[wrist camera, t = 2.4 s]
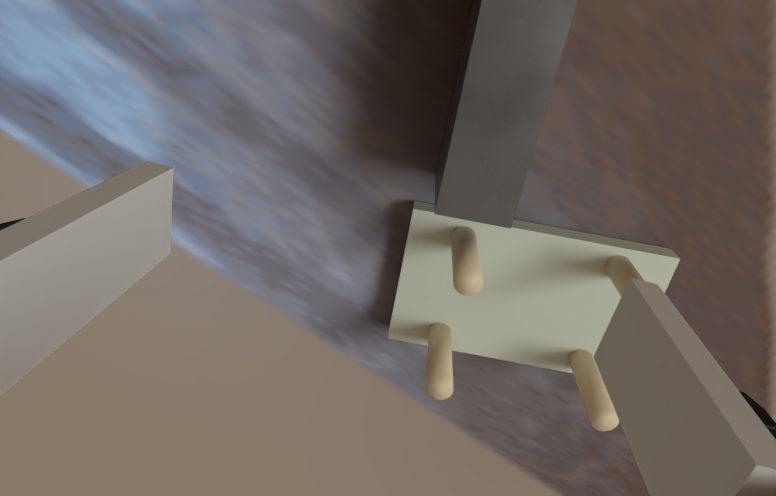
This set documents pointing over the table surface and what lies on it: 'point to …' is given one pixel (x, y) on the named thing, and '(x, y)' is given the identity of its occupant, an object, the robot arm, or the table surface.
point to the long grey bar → (499, 106)
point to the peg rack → (517, 297)
